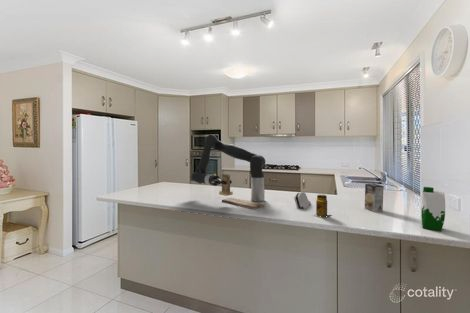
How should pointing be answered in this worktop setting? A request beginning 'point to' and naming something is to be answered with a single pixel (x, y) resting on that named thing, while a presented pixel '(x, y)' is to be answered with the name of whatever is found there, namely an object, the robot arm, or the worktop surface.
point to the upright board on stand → (226, 187)
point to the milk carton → (433, 209)
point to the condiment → (321, 205)
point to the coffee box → (374, 197)
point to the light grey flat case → (301, 200)
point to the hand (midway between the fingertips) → (228, 182)
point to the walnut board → (243, 203)
